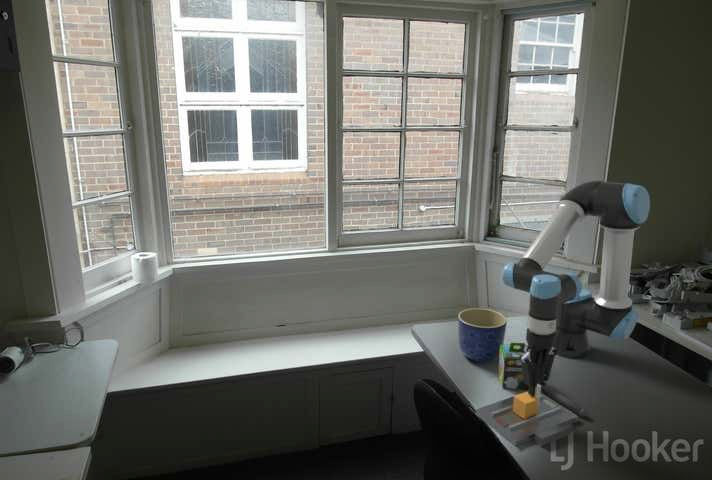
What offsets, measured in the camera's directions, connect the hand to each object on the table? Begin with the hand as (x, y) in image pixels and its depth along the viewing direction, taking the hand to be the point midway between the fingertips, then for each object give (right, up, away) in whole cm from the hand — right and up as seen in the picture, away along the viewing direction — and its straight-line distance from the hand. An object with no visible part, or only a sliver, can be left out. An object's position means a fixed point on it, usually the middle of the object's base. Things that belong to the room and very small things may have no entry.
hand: (533, 403), depth 141 cm
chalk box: (0, +1, +19) cm, 19 cm away
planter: (-7, +5, +36) cm, 37 cm away
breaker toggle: (-3, -2, -1) cm, 4 cm away
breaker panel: (-2, -4, 0) cm, 5 cm away
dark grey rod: (+11, -2, +6) cm, 13 cm away
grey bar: (+2, -6, -9) cm, 11 cm away
